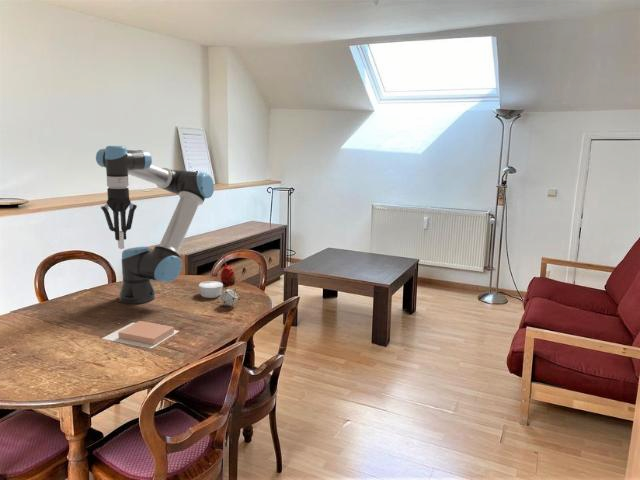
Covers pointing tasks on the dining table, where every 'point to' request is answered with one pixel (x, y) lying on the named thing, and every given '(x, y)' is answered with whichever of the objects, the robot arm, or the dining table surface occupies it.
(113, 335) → the rubber mat
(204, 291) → the ramekin
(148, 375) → the dining table surface
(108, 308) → the dining table surface
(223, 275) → the red clay folk toy
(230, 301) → the game die
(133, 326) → the terracotta tile
